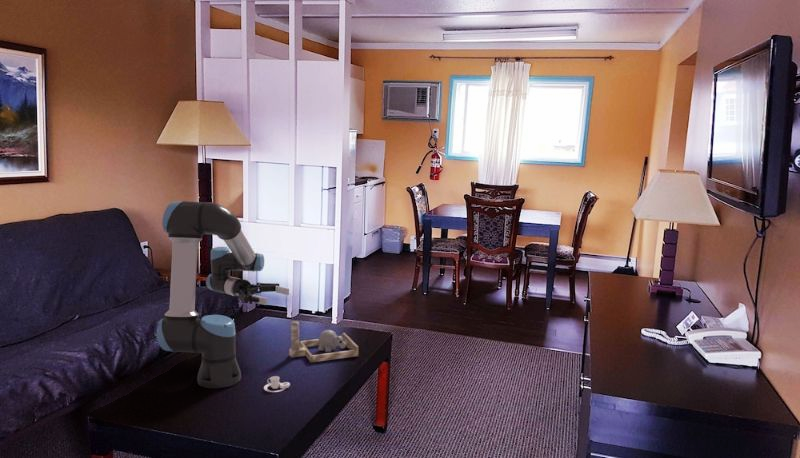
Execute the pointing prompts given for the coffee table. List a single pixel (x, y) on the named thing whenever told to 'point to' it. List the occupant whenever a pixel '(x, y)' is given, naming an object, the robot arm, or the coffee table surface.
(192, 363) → the coffee table surface
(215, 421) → the coffee table surface
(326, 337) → the chubby cartoon animal
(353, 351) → the pull frame
